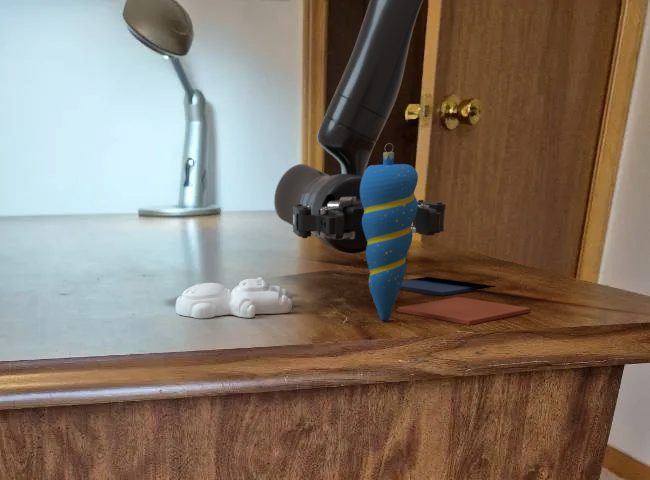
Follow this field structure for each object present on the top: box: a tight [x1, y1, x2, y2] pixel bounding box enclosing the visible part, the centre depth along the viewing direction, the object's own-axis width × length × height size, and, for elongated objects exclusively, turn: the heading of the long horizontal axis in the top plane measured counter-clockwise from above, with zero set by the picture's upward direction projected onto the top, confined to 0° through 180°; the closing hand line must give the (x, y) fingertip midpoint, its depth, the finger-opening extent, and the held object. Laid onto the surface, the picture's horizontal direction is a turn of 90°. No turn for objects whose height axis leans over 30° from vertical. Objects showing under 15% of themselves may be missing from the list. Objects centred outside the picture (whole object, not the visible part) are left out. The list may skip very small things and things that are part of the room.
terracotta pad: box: [397, 296, 532, 326], centre depth 77 cm, size 9×9×1 cm
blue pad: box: [400, 276, 497, 297], centre depth 91 cm, size 9×9×1 cm
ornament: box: [360, 142, 419, 322], centre depth 71 cm, size 5×5×15 cm
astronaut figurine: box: [175, 276, 294, 319], centre depth 80 cm, size 9×12×3 cm
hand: (386, 224), depth 71 cm, fingers open, 8 cm apart
